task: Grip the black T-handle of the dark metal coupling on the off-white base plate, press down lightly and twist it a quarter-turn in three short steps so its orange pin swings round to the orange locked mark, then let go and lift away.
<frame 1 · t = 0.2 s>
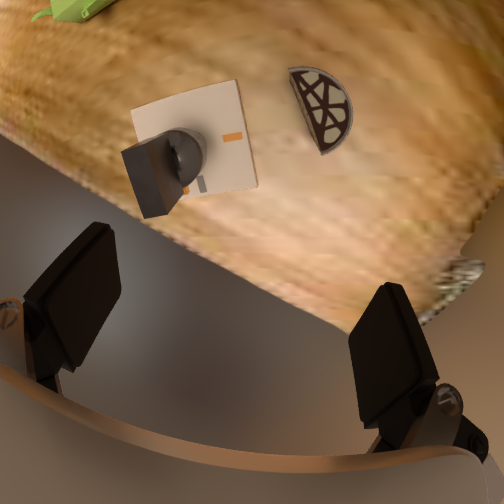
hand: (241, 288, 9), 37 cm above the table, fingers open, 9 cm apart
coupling: (165, 171, 31), point 13 cm above the table, hinge at 0.0°
post base: (194, 143, 42), on the table
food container: (318, 102, 36), on the table
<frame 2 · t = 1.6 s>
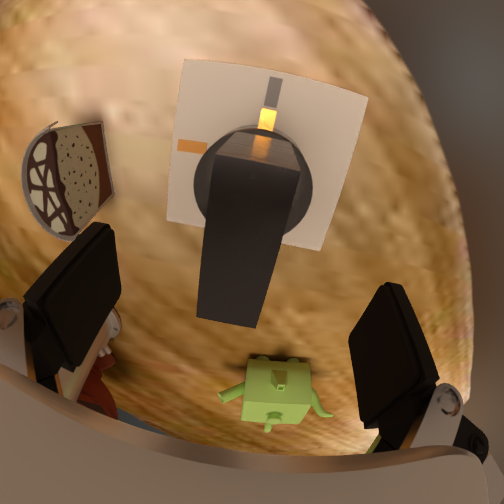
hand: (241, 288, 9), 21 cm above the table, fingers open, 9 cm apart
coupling: (251, 191, 16), point 13 cm above the table, hinge at 0.0°
post base: (259, 154, 27), on the table
goblet: (99, 352, 51), on the table, touching arm
kettle: (276, 369, 47), on the table
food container: (90, 161, 28), on the table
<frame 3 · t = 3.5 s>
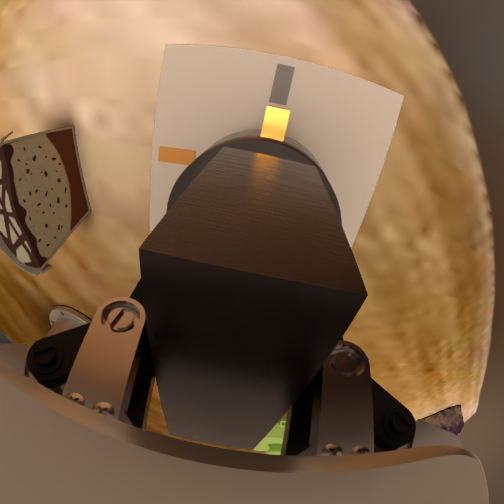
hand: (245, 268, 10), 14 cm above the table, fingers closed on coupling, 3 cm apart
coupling: (250, 244, 10), point 13 cm above the table, hinge at -0.1°, touching gripper
post base: (263, 165, 21), on the table
kettle: (279, 395, 42), on the table
geode: (428, 418, 52), on the table
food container: (63, 172, 23), on the table
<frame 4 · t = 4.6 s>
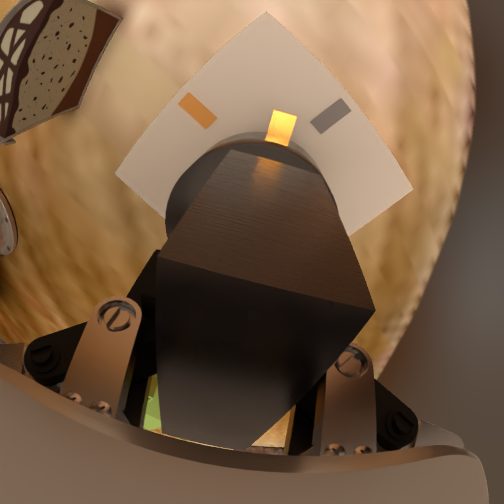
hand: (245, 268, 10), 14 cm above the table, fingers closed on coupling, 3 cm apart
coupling: (250, 247, 10), point 13 cm above the table, hinge at 31.5°, touching gripper
post base: (262, 167, 21), on the table
kettle: (147, 367, 41), on the table
geode: (268, 448, 64), on the table
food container: (78, 54, 16), on the table
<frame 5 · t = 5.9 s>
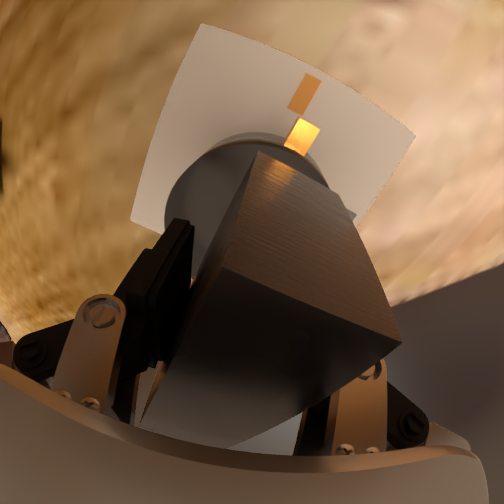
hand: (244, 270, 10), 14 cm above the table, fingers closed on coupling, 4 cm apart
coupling: (253, 250, 10), point 13 cm above the table, hinge at 88.8°, touching gripper
post base: (262, 167, 21), on the table
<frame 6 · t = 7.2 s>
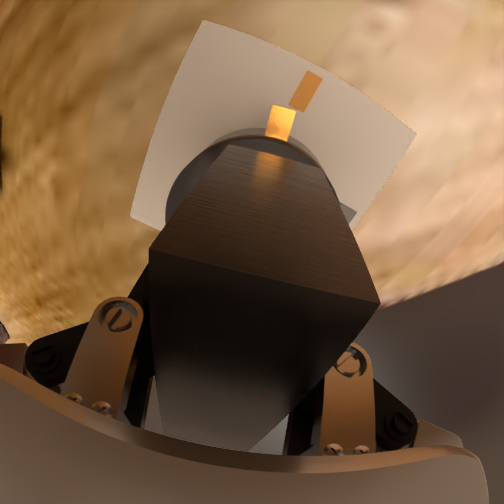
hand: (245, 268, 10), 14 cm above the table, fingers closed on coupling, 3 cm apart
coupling: (251, 244, 10), point 13 cm above the table, hinge at 102.2°, touching gripper
post base: (263, 164, 21), on the table
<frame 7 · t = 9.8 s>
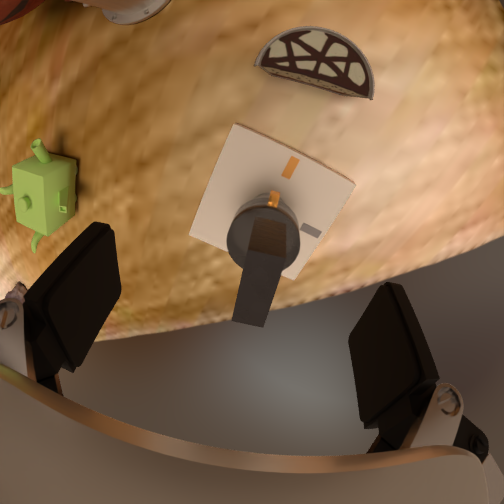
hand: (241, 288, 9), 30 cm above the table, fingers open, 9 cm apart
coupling: (263, 249, 27), point 13 cm above the table, hinge at 102.8°
post base: (268, 205, 39), on the table
kettle: (61, 180, 40), on the table
geode: (35, 306, 63), on the table
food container: (312, 64, 28), on the table
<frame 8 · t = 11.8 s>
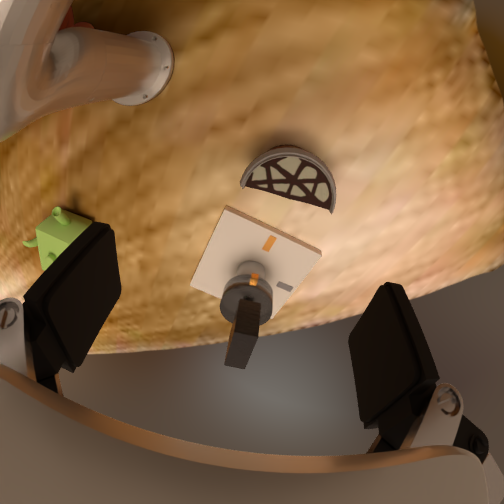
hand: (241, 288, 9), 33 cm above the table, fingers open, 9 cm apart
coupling: (245, 317, 39), point 13 cm above the table, hinge at 102.8°
post base: (252, 266, 50), on the table
kettle: (77, 232, 50), on the table
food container: (291, 157, 39), on the table
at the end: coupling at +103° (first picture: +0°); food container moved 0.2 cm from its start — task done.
